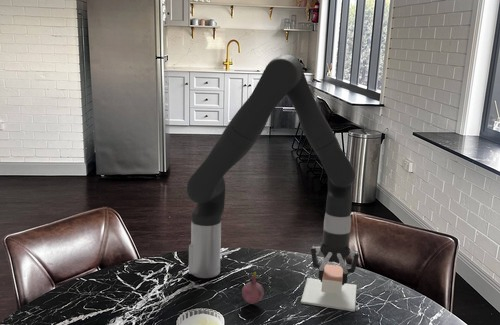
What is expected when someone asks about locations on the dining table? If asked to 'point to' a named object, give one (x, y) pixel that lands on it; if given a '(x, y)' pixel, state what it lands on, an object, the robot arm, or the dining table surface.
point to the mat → (329, 296)
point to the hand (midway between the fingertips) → (332, 282)
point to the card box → (332, 279)
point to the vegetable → (252, 291)
